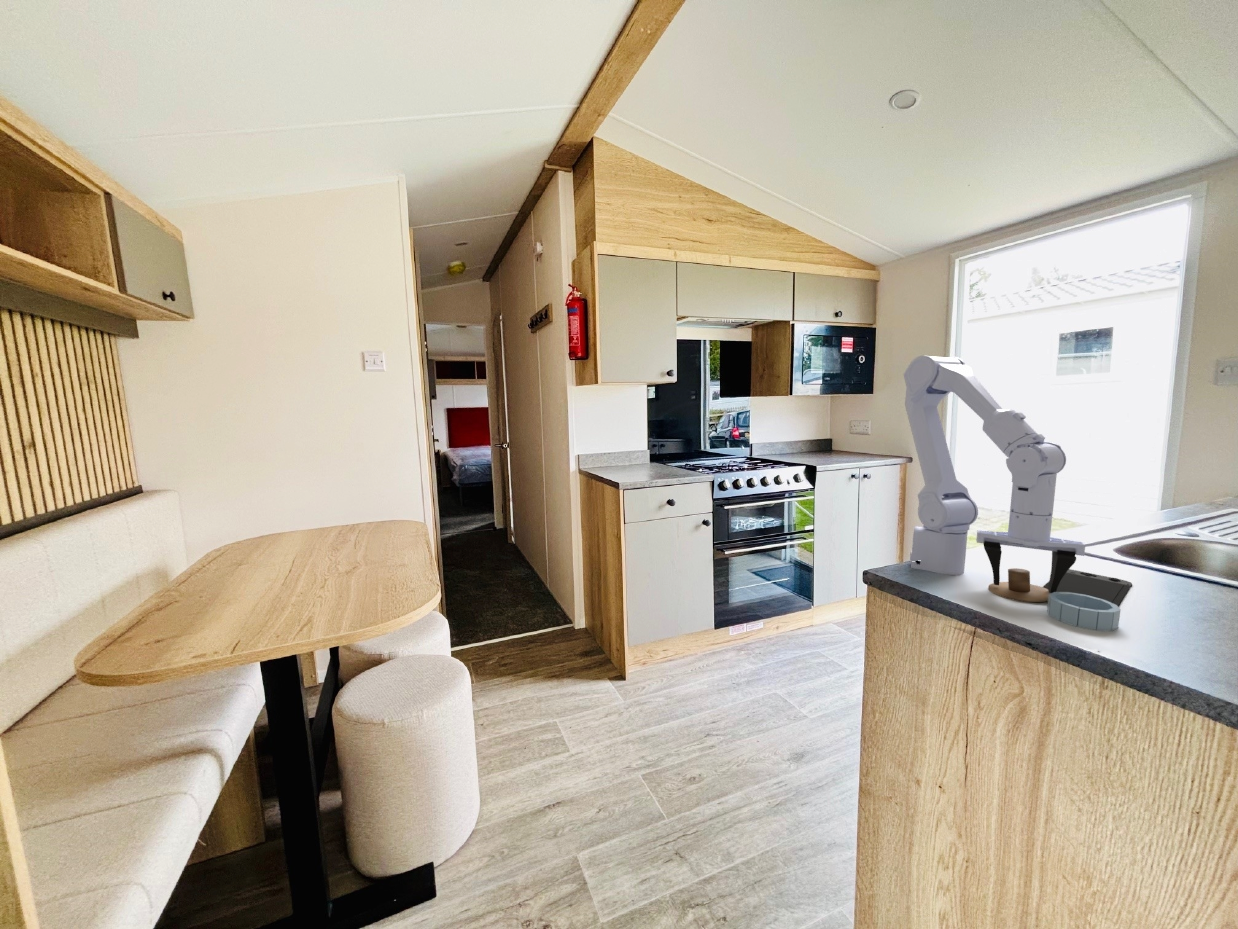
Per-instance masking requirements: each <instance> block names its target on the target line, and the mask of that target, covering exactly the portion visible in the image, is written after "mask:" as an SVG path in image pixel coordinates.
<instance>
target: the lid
mask: <svg viewBox="0 0 1238 929" xmlns="http://www.w3.org/2000/svg"><path fill="white" fill-rule="evenodd" d="M1007 576H1008V577H1007V581H999V585H994V582H993V583H990V584H989V585H988V588H987V589H988V590H989V592H991V593H992V594H994V595H997V596H999V597H1002V598H1004V599H1008V600H1012V601H1017V602H1023V603H1042V602H1045V601H1048V596H1049V594H1050V592H1049V590H1048V589H1046V588H1043V586H1039V585H1037V584H1036V585H1035V584H1031V572H1030V570H1027V569H1023V568H1013V567H1012V568H1009V569H1007Z"/></svg>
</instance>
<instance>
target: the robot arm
mask: <svg viewBox="0 0 1238 929" xmlns="http://www.w3.org/2000/svg"><path fill="white" fill-rule="evenodd" d="M973 372H974V371H973V369H972V367H971V366H969V365H967V364H966V363H965V361H964V360H963V359H962V358H959V357H957V356H949V357H948V356H947V357H945V356H944V357H943V356H929V355H927V354H926V355H919V356H917V357H914V358H913V359H912V360H911V361H910V363H909V364H908V366H907V368H906V370H905V371H904V373H903V379H904V381H905V382H904V383H905V387H906V390H905V398H904V406H905V411H906V414H907V415H906V416H907V418H908V422H909V426H910V431H911V435H912V438H913V442H914V446H915V450H916V454H917V457H918V462H919V465H920V470H921V473H922V477H923V482H924V486H923V487H922V488H921V489H920V491H919V492H918V494H917V499H918V508H917V515H918V519H919V521H920V523H921V524H922V525H923V526H917V525H915V526H914V528H913V532H912V533H913V534H912V546H911V551H910V556H909V561H910V568H911V569H916V570H922V571H927V572H933V573H935V574H941V575H948V576H949V575H950V576H958V575H959V576H960V575H964V573H965V567H966V566H965V565H966V554H967V544H968V532H969V531H970V525H972V524H973V523H975V521H977V519H978V516H979V509H978V505H977V503H976V502H975V501H974V500H973V499H972V497H971V496H970V494H969V491H968V488H967V487H966V486H965V485H964V484H963V483H961V482H960V481H959V480H958V479H957V476H956V473H955V470H954V466H953V462H952V458H951V454H950V451H949V447H948V443H947V440H946V435H945V433H944V432H945V431H944V428H943V425H942V421H941V417H940V414H939V409H938V406H939V404H940V403H941V401H942V400H943V399H944V398H945V397H947V396H948V395H949V394H950V393H954V394H955V395H956V396H957V397H958V398H959V399H960V400H961V401H962V402H963V403H964V404H966V405H967V406H968V407H969V409H971V411H973V412H974V413H975V414H976V415H977V416H978V417H980V419H981V420H982V421H983V424H982V431H983V433H984V434H986V436H987V437H989V439H990V440H991V441H992V442H993V443H994V445H995V446H996V447H998V449H999V450H1000V452H1002V453H1003V455H1004V456H1006V459H1005V464H1006V467H1007V469H1008V470H1009V472H1010V474H1011V477H1012V478H1011V483H1012V487H1011V497H1010V507H1009V521H1008V527H1007V528H1008V529H1007V532H1006V531H989V530H977V531H976V543H977V544H982V545H983V549H984V551H985V553H986V555H987V558H988V560H989V563H990V567H991V570H992V576H993V583H994V585H999V582H1001V581H1000V578H1001V577H1000V576H1001V575H1000V571H1001V570H1000V567H1001V559H1002V546H1007V547H1008V546H1010V547H1016V548H1025V549H1032V550H1033V549H1034V550H1040V551H1041V550H1042V551H1049V552H1051V570H1050V575H1049V581H1048V582H1049V587H1048V590H1049V592H1050V593H1053V592H1056V590H1057V588H1058V585H1059V583H1060V581H1061V580H1062V578H1063V576H1064V575H1065V573H1066V572H1067V571H1068V570H1069V569H1071V568H1072V566H1073V565H1074V564H1075V563H1076V561H1077V556H1083V557H1084V556H1085V552H1086V544H1085V543H1084V542H1083V541H1077V540H1070V539H1064V538H1063V539H1062V538H1057V537H1051V535H1052V533H1051V531H1052V524H1053V523H1052V522H1053V514H1054V504H1055V493H1056V485H1057V484H1056V483H1057V475H1058V474H1059V473H1060V472H1062V470H1064V468H1065V466H1066V464H1067V456H1066V453H1065V452H1064V450H1063V449H1062V447H1061V446H1060V444H1057V443H1055V442H1053V441H1051V442H1050V441H1045V440H1046V437H1045V436H1044V435H1043V434H1042V433H1037V432H1036V431H1035V430H1034V428H1032V426H1031V425H1030V424H1029V423H1028V422H1027V421H1025V419H1026V418H1027V416H1026V415H1025V414H1024V413H1023V412H1017V411H1015V410H1014V409H1003V408H1002V406H1001V405H1000V404H999V403H998V402H997V401H996V400H995V398H994V397H993V396H992V395H991V394H990V393H989V392H988V390H987V389H986V387H984V385H983V384H982V383H981V382H980V381H979V380H978V378H976V376H975V374H974V373H973ZM918 560H921V561H918ZM912 561H915V562H912ZM916 561H918V562H916Z"/></svg>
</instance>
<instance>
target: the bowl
mask: <svg viewBox="0 0 1238 929" xmlns="http://www.w3.org/2000/svg"><path fill="white" fill-rule="evenodd" d="M1046 606H1047V607H1046V613H1047V614H1048V616H1049V617H1050V618H1053V619H1055V620H1056V621H1058V622H1061V623H1064V624H1067V625H1071V626H1073V627H1077V628H1083V629H1087V630H1093V631H1101V632H1102V631H1105V632H1106V631H1108V632H1110V631H1112V632H1113V631H1114V630H1117V629H1119V625H1120V618H1121V616H1120V615H1121V608H1120V606H1119V607H1118V606H1117V605H1115V604H1113V603H1111V602H1109V601H1106V600H1104V599H1100V598H1096V597H1092V596H1089V595H1084V594H1077V593H1071V592H1070V593H1069V592H1053V593H1050V594H1049V596H1048V602H1047V605H1046Z"/></svg>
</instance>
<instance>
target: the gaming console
mask: <svg viewBox="0 0 1238 929" xmlns="http://www.w3.org/2000/svg"><path fill="white" fill-rule="evenodd" d="M1042 587H1043V588H1046V589H1048V587H1049V581H1048V582H1047V583H1045V584H1044V585H1043V586H1042ZM1132 587H1133V583H1132V582H1130V581H1128V580H1124V579H1121V578H1118V577H1111V576H1105V575H1101V574H1096V573H1092V572H1091V573H1090V572H1087V571H1086V572H1085V571H1082V570H1081V571H1080V570H1076V569H1072V568H1069V570H1068V571H1067V572H1066V573H1065V575H1064V576H1063V578H1062V580H1061V581H1060V583H1059V585H1058V588H1057V590H1056V592H1069V593H1070V592H1071V593H1077V594H1084V595H1089V596H1092V597H1096V598H1100V599H1104V600H1106V601H1109V602H1111V603H1113V604H1115V605H1117V606H1118V607H1119V608H1120V605H1121V603H1122V602H1123V600H1124V599H1125V597H1126V595H1127V594H1128V593H1129V591H1130V589H1131V588H1132ZM1044 602H1046V603H1048V601H1044Z"/></svg>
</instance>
